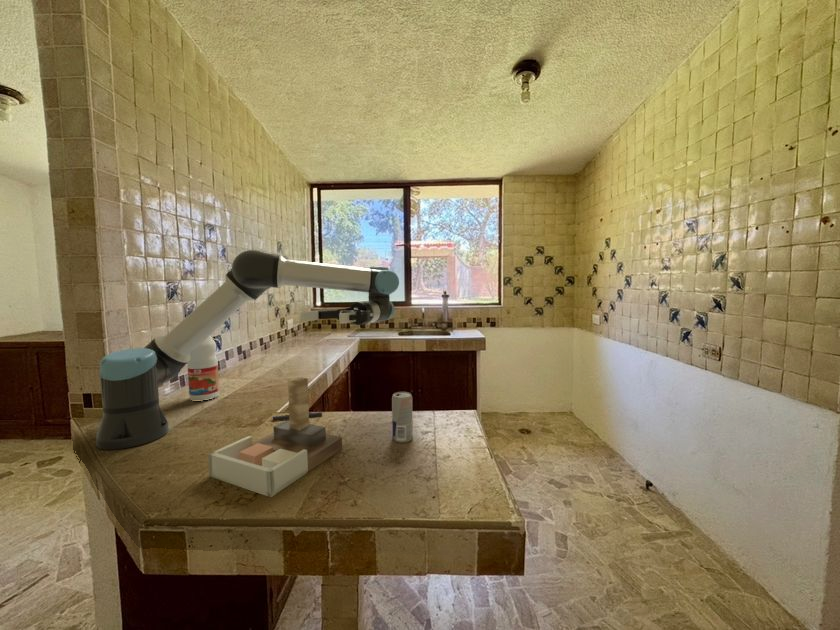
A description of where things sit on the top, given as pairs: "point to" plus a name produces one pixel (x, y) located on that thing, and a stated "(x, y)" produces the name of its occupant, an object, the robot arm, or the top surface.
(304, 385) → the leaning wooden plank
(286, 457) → the tile cream
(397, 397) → the energy drink
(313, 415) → the bracket
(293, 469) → the tray
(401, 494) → the top surface
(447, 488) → the top surface
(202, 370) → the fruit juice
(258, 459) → the tile terracotta
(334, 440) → the board
